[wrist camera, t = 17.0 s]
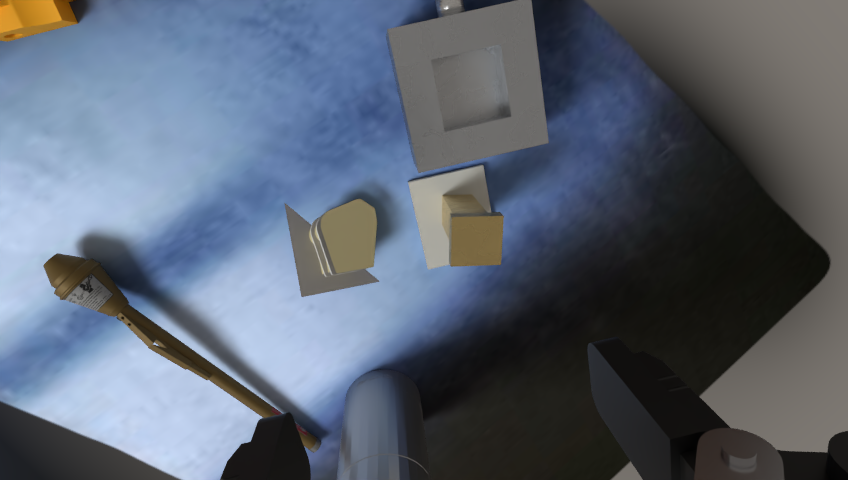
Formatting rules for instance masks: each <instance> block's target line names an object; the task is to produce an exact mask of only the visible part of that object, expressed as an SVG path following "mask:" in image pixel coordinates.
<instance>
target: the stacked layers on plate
mask: <svg viewBox="0 0 848 480" xmlns="http://www.w3.org/2000/svg"><path fill="white" fill-rule="evenodd" d="M285 208H286V214H287V219H288V225H289V230H290V236H291V241H292V247H293V252H294V258H295V263H296V269H297V274H298V280H299V285H300V291H301V296H302V297H304V296H309V295H314V294H319V293H324V292H329V291H334V290H339V289H344V288H349V287H354V286H359V285H364V284H369V283H374V282H379V280H377V279H376V278H375V277H374V276H372V275H371V274H370V273H369V272H368V271H366V270H365V269H367V268H370V267H373V266H374V255H375V242H376V230H377V218H376V213H375V208H374V207H372V206H371V205H369V204H368V203H366V202H365V201H363V200H362V199H356V200H353V201H351V202H349V203H346V204H344V205H341V206H339V207H337V208H334V209H332V210H329V211H328V212H326V213H325V214H323V215H322V216H321V217H319V218H317V219H316V220H315V221H314V222H313V223H312V225H311V224H310V223H308V222H307V221H306V220H305V219H303V218H302V217H301V216H300V215H299V214H297V213H296V212H295V211H294V210H293V209H291V208H290V207H289V206H288V205H287V204H285Z"/></svg>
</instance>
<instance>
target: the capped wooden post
mask: <svg viewBox="0 0 848 480" xmlns="http://www.w3.org/2000/svg"><path fill="white" fill-rule="evenodd" d="M503 218H504V216H503V215H502V214H501V213H500V212H487V211H486V210H485V209H484V208H483V207H482V205H481V204H480V203H479V202H478V201H477V200H476V198H475V197H474V196H473V195H472V194H468V195H442V226H443V228H444V230H445V232H446V235H447V237H448V239H449V263H450V266H478V265H501V254H502V236H503Z"/></svg>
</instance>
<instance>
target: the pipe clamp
mask: <svg viewBox="0 0 848 480" xmlns="http://www.w3.org/2000/svg"><path fill="white" fill-rule="evenodd" d="M71 1H75V0H0V41H11V40H15V39H19V38H23V37H27V36H31V35H35V34H38V33H42V32H46V31H50V30H54V29H58V28H62V27H66V26H70V25H74V24H78V22H77V20H76V18H75V15H74V13H73V11H72V9H71V6H70V4H69V2H71Z"/></svg>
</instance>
